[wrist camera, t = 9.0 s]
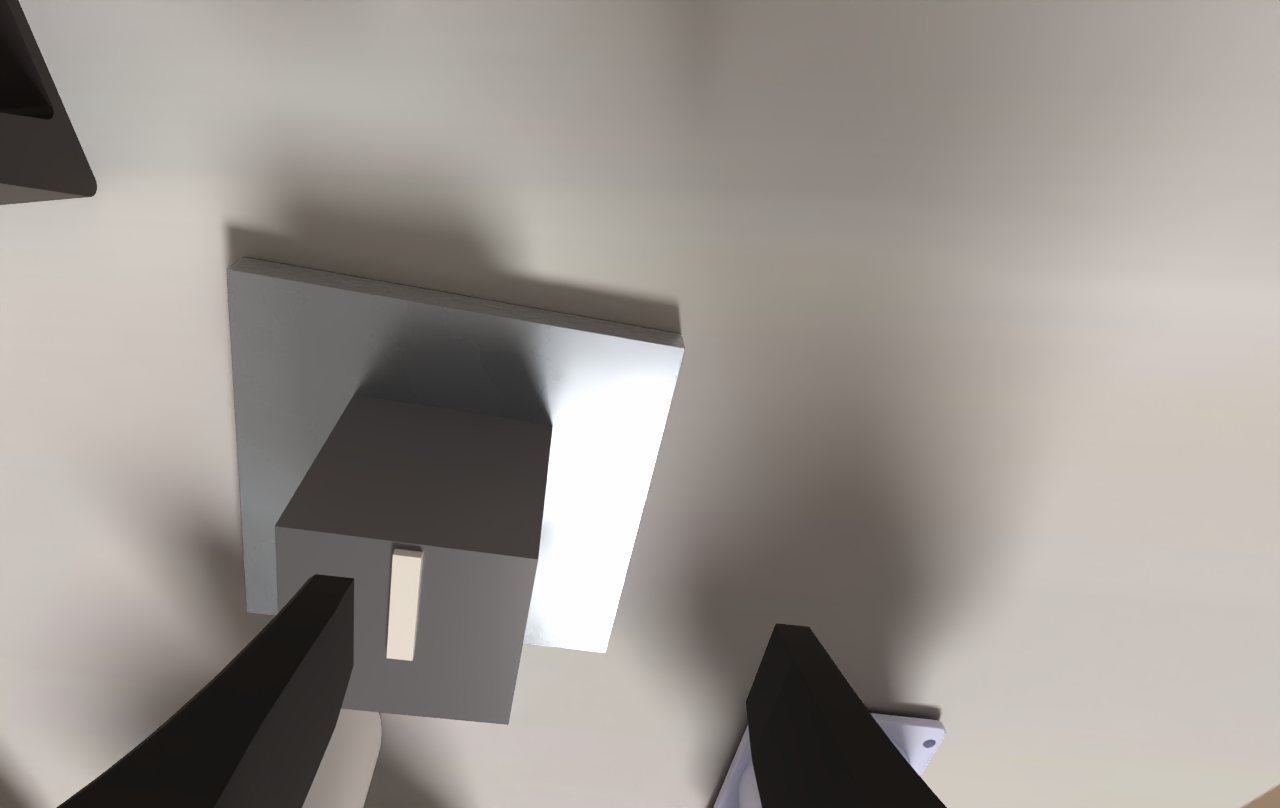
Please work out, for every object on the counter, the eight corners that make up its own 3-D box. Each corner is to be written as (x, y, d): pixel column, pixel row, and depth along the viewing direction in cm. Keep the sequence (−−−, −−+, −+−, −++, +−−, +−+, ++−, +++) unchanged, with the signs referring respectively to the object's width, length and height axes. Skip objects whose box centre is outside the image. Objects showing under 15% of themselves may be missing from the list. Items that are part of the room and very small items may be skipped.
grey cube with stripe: (527, 570, 24) (507, 731, 19) (349, 548, 23) (277, 709, 18) (552, 425, 22) (537, 565, 16) (353, 394, 21) (270, 532, 16)
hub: (604, 631, 27) (605, 766, 22) (258, 590, 25) (181, 728, 21) (681, 333, 21) (704, 432, 17) (243, 256, 20) (131, 341, 15)
